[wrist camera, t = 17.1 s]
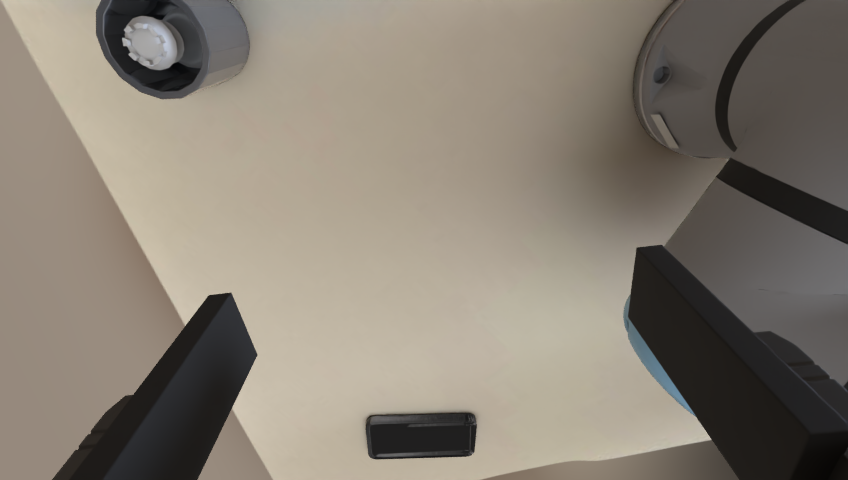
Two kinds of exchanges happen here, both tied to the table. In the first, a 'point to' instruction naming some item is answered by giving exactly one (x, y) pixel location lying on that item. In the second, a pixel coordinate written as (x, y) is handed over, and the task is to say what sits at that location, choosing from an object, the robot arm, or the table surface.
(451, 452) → the phone
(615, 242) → the table surface
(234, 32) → the cup
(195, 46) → the rook chess piece
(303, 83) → the table surface
